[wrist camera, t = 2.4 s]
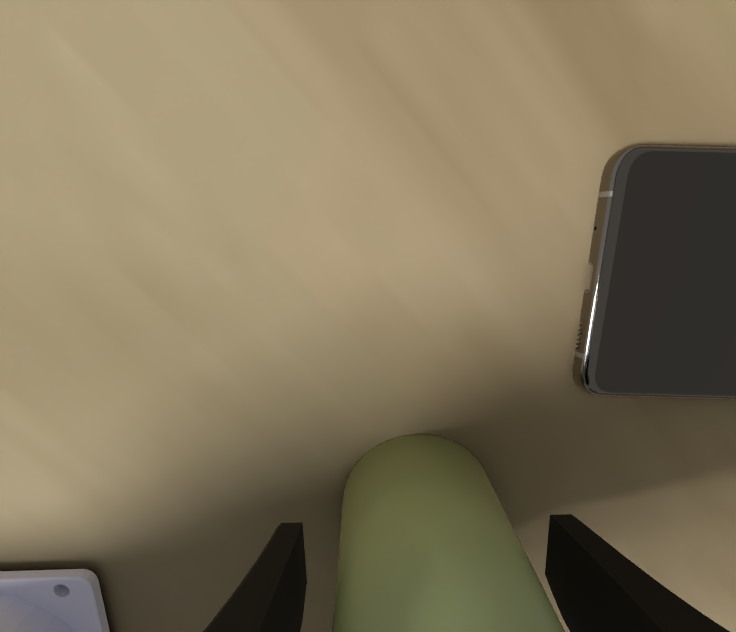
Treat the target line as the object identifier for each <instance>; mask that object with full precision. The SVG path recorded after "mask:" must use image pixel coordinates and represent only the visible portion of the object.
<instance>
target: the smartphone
mask: <svg viewBox="0 0 736 632" xmlns="http://www.w3.org/2000/svg"><path fill="white" fill-rule="evenodd" d="M588 264H592V273H591V280H590V287H589V290H585V291H584V296H583V303H582V310H581V316H580V322H582V323H583V325H579V326H580V327H582V329H579V330H578V331H579V332H581V333H582V334H578V336H579V337H581V339H577V341H579V342H580V343H576V345H577V346H579V348H576V350H575V356H574V364H573V377H574V380H575V383H576V384H577V385H578V386H579V387H580V388H581V389H582V390H584V391H585V392H587V393H590V394H593V395H600V396H633V397H668V398H703V399H736V147H709V146H667V145H634V146H629V147H626V148H623V149H621V150H619V151H617V152H616V153H615V154H613V155H612V156H611V157H610V158H609V160H608V161H607V163H606V165H605V167H604V170H603V173H602V177H601V183H600V189H599V196H598V202H597V209H596V216H595V223H594V229H593V236H592V243H591V249H590V256H589V263H588Z"/></svg>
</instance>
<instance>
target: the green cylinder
mask: <svg viewBox="0 0 736 632" xmlns="http://www.w3.org/2000/svg"><path fill="white" fill-rule="evenodd" d="M332 632H565V631H564V629H563V627H562V625H561V623H560V621H559V619H558V617H557V615H556V613H555V611H554V609H553V607H552V605H551V603H550V601H549V599H548V597H547V595H546V593H545V591H544V589H543V587H542V585H541V583H540V581H539V579H538V577H537V575H536V573H535V571H534V569H533V567H532V565H531V563H530V561H529V559H528V557H527V555H526V553H525V551H524V549H523V547H522V545H521V543H520V541H519V539H518V537H517V535H516V533H515V531H514V529H513V527H512V525H511V523H510V521H509V519H508V517H507V515H506V513H505V511H504V509H503V507H502V505H501V503H500V501H499V499H498V497H497V495H496V493H495V491H494V489H493V487H492V485H491V483H490V481H489V479H488V477H487V475H486V473H485V471H484V469H483V467H482V466H481V464H480V463H479V461H478V460H477V459H476V458H475V457H474V456H473V455H472V454H471V453H470V452H469V451H468V450H466V449H465V448H464V447H462V446H460V445H459V444H457V443H455V442H453V441H450V440H448V439H445V438H442V437H438V436H432V435H421V434H416V435H406V436H401V437H397V438H394V439H391V440H388V441H386V442H384V443H382V444H379V445H378V446H376V447H375V448H373V449H371V450H370V451H369V452H368V453H366V454H365V455H364V456H363V457H362V458H361V459H360V460H359V461H358V462H357V464H356V465H355V466H354V468H353V469H352V471H351V473H350V475H349V477H348V479H347V482H346V485H345V488H344V494H343V505H342V517H341V530H340V542H339V555H338V567H337V579H336V592H335V604H334V617H333V629H332Z"/></svg>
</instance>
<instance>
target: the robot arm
mask: <svg viewBox="0 0 736 632" xmlns="http://www.w3.org/2000/svg"><path fill="white" fill-rule="evenodd" d="M545 575H546V578H547V580H548V583H549V585H550V588H551V590H552V593H553V596H554V598H555V600H556V603H557V605H558V608H559V610H560V612H561V615H562V617H563V619H564V621H565V623H566V625H567V627H568V628H569V630H570V632H730V631H728V630H726V629H725V628H723V627H722V626H720V625H719V624H717V623H715V622H714V621H712V620H711V619H709V618H708V617H707V616H705V615H704V614H702V613H701V612H699V611H698V610H696V609H695V608H693V607H692V606H691V605H689V604H688V603H686V602H685V601H684V600H682V599H681V598H679V597H678V596H677V595H675V594H674V593H672V592H671V591H669V590H668V589H667V588H665V587H664V586H663V585H661V584H660V583H659V582H657V581H656V580H655V579H653V578H652V577H651V576H649V575H648V574H647V573H645V572H644V571H643V570H641V569H640V568H639V567H637V566H636V565H635V564H634V563H632V562H631V561H630V560H628V559H627V558H626V557H625V556H623V555H622V554H621V553H620V552H618V551H617V550H616V549H615V548H613V547H612V546H611V545H609V544H608V543H607V542H606V541H604V540H603V539H602V538H601V537H599V536H598V535H597V534H596V533H594V532H593V531H592V530H591V529H589V528H588V527H587V526H586V525H584V524H583V523H582V522H581V521H579V520H578V519H577V518H575V517H574V516H573V515H571V514H567V515H550V522H549V534H548V545H547V557H546V569H545ZM306 584H307V578H306V565H305V551H304V538H303V525H302V523H281V524H280V525H279V526H278V527H277V529H276V531H275V532H274V534H273V536H272V537H271V539H270V541H269V542H268V544H267V545H266V547H265V548H264V550H263V552H262V553H261V555H260V556H259V558H258V559H257V561H256V562H255V564H254V565H253V567H252V568H251V569H250V571H249V572H248V574H247V575H246V576H245V578H244V579H243V581H242V582H241V584H240V585H239V586H238V588H237V589H236V591H235V592H234V593H233V595H232V596H231V597H230V598H229V600H228V601H227V602H226V604H225V605H224V606H223V607H222V609H221V610H220V611H219V613H218V614H217V615H216V616H215V618H214V619H213V620H212V622H211V623H210V624H209V625H208V626H207V628H206V629H205V630H204V631H203V632H300V630H301V625H302V618H303V610H304V601H305V592H306ZM0 632H110V631H109V626H108V621H107V617H106V612H105V608H104V603H103V599H102V594H101V589H100V585H99V580H98V578H97V576H96V575H95V574H94V573H93V572H92V571H90V570H87V569H63V570H31V571H0Z"/></svg>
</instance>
